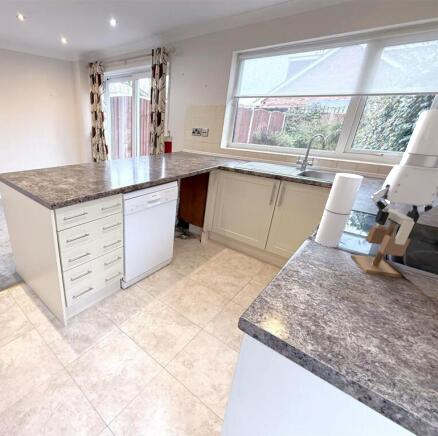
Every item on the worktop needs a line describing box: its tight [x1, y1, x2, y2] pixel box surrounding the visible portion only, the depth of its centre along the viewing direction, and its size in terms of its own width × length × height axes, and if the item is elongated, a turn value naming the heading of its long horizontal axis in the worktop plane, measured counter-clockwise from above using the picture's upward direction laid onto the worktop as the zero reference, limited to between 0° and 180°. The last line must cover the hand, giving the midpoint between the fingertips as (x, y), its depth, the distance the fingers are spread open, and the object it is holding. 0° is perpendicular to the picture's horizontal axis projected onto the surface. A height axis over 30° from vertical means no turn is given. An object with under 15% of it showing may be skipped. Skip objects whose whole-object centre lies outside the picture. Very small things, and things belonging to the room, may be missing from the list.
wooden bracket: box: [365, 208, 415, 257], centre depth 71 cm, size 5×10×11 cm, turn 166°
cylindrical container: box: [314, 172, 364, 248], centre depth 85 cm, size 7×7×25 cm
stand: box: [350, 218, 404, 279], centre depth 72 cm, size 9×9×16 cm
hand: (393, 224), depth 70 cm, fingers open, 6 cm apart
